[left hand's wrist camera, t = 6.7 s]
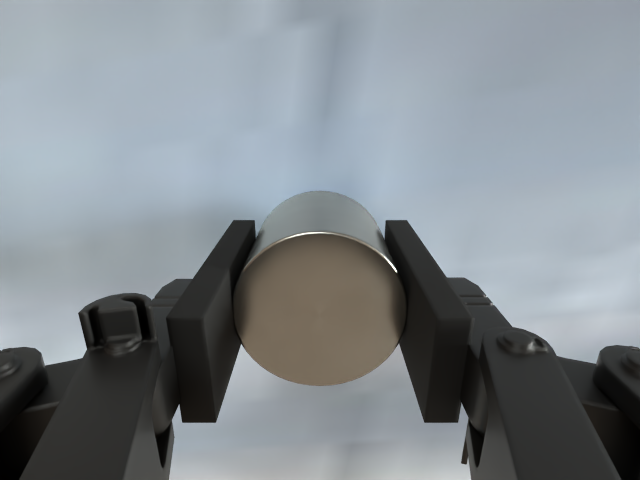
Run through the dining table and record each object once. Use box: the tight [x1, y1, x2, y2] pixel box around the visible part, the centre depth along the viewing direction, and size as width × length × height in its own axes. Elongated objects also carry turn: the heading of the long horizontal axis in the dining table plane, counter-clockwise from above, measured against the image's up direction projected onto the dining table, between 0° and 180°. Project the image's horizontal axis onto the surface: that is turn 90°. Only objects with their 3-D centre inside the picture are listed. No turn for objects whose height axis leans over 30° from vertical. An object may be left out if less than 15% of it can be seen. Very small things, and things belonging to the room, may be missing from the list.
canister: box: [232, 191, 408, 386], centre depth 12 cm, size 5×5×4 cm
